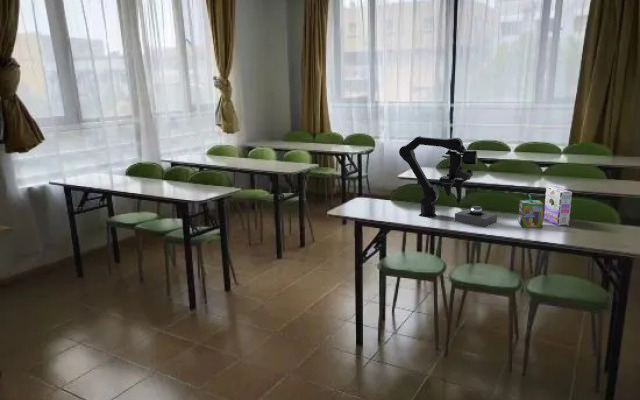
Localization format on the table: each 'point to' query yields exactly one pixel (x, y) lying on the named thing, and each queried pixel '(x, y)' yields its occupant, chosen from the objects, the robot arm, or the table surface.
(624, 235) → the table surface
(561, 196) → the candy box
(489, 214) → the camera body
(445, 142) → the robot arm
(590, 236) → the table surface
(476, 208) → the lens
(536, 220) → the chalk box
